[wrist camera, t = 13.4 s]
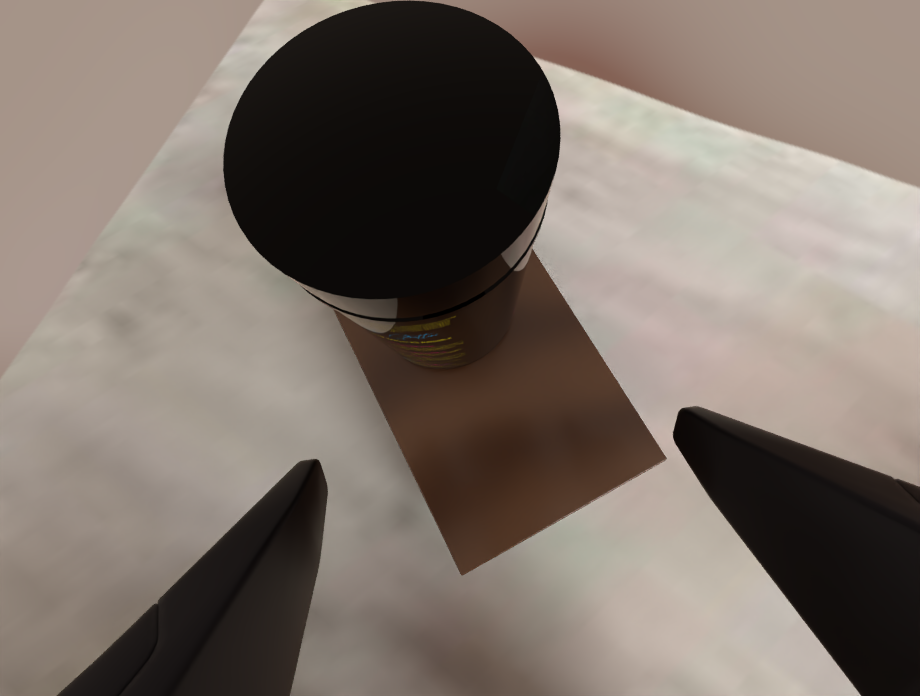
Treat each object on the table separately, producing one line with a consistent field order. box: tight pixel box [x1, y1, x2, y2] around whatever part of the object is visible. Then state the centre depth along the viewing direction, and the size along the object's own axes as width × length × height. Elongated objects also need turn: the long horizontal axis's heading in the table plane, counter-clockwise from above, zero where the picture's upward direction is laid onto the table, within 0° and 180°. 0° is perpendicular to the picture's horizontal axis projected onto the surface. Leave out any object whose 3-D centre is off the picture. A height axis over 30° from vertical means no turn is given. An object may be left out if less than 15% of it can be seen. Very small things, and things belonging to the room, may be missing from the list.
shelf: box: [333, 249, 667, 575], centre depth 19 cm, size 16×10×6 cm, turn 28°
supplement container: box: [223, 1, 560, 369], centre depth 12 cm, size 7×7×10 cm
